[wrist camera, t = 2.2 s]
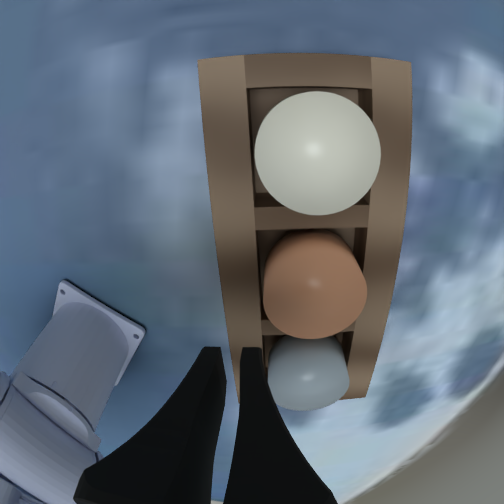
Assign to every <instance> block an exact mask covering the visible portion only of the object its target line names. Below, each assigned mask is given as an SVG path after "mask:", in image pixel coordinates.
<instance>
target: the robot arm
mask: <svg viewBox="0 0 504 504" xmlns="http://www.w3.org/2000/svg"><path fill="white" fill-rule="evenodd" d="M63 290H64V291H65V292H64V291H63ZM136 334H137V335H138V336H137V335H136ZM144 335H145V329H144V328H143V327H142V326H140V325H138V324H136V323H135V322H133V321H131V320H129V319H128V318H126V317H124V316H122V315H121V314H119V313H117V312H115V311H114V310H112V309H110V308H109V307H107V306H105V305H104V304H102V303H100V302H99V301H97V300H96V299H94V298H92V297H91V296H89V295H87V294H86V293H84V292H83V291H81V290H80V289H78V288H76V287H75V286H73V285H72V284H70V283H69V282H67V281H65V280H63V281H61V282H60V284H59V287H58V292H57V296H56V301H55V306H54V311H53V316H52V319H51V320H50V321H49V323H48V324H47V325H46V326H45V328H44V329H43V330H42V332H41V333H40V334H39V336H38V337H37V338H36V340H35V341H34V343H33V344H32V345H31V347H30V348H29V350H28V351H27V352H26V354H25V355H24V357H23V358H22V359H21V361H20V362H19V364H18V365H17V367H16V368H15V370H14V371H13V373H12V374H11V375H10V376H8V375H7V374H6V373H5V372H3V371H1V372H0V504H211V488H212V475H213V464H214V456H215V450H216V445H217V440H218V436H219V431H220V426H221V421H222V416H223V411H224V406H225V397H226V384H227V380H226V375H225V370H224V364H223V359H222V353H221V347H204V348H202V350H201V352H200V354H199V355H198V357H197V359H196V360H195V362H194V364H193V365H192V367H191V369H190V370H189V372H188V373H187V375H186V376H185V378H184V379H183V380H182V382H181V383H180V385H179V386H178V388H177V389H176V390H175V392H174V393H173V394H172V395H171V397H170V398H169V399H168V400H167V402H166V403H165V404H164V405H163V407H162V408H161V409H160V410H159V411H158V412H157V413H156V415H155V416H154V417H153V418H152V419H151V420H150V421H149V422H148V423H147V424H146V425H145V426H144V427H143V428H142V429H140V430H139V431H138V432H137V433H136V434H135V435H134V436H133V437H132V438H130V439H129V440H128V441H127V442H125V443H124V444H123V445H121V446H120V447H119V448H117V449H116V450H115V451H113V452H112V453H111V454H109V455H108V456H106V457H105V458H103V456H102V454H101V453H100V452H99V451H97V450H98V447H99V445H100V442H101V439H100V438H99V437H98V436H97V435H96V434H95V433H94V432H95V430H96V427H97V425H98V422H99V420H100V417H101V415H102V413H103V410H104V408H105V406H106V403H107V401H108V399H109V396H110V394H111V392H112V389H113V387H114V386H116V385H118V383H119V381H120V379H121V377H122V375H123V373H124V371H125V370H126V368H127V366H128V364H129V362H130V360H131V358H132V357H133V355H134V353H135V351H136V349H137V347H138V346H139V344H140V342H141V340H142V338H143V337H144ZM223 504H338V503H337V501H336V499H335V498H334V495H333V493H332V492H331V490H330V489H329V488H328V487H327V486H326V485H325V483H324V482H323V481H322V480H321V479H320V477H319V476H318V475H317V474H316V472H315V471H314V470H313V468H312V467H311V466H310V464H309V463H308V461H307V460H306V458H305V457H304V455H303V454H302V452H301V451H300V449H299V448H298V446H297V445H296V443H295V441H294V440H293V438H292V436H291V434H290V433H289V431H288V429H287V427H286V425H285V423H284V421H283V419H282V417H281V415H280V413H279V411H278V408H277V406H276V403H275V401H274V398H273V396H272V393H271V390H270V387H269V384H268V381H267V378H266V374H265V370H264V365H263V356H262V349H261V348H260V347H242V352H241V357H240V408H239V419H238V426H237V433H236V440H235V446H234V452H233V458H232V464H231V469H230V474H229V480H228V484H227V489H226V493H225V498H224V502H223Z"/></svg>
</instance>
